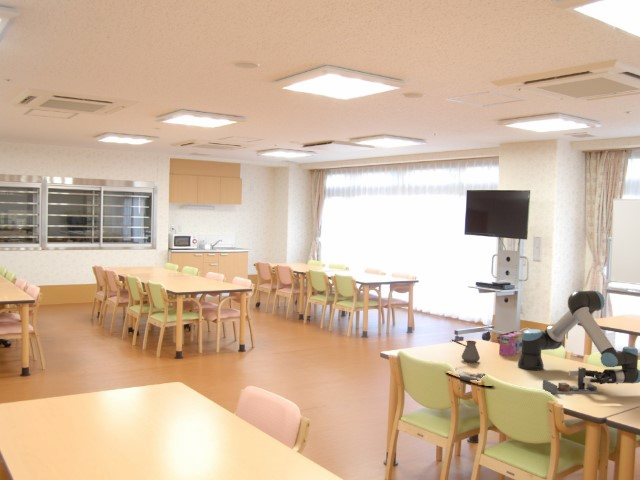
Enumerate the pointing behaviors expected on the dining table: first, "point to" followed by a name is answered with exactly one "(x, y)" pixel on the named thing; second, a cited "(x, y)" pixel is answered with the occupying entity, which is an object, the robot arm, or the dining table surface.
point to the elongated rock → (469, 376)
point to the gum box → (510, 343)
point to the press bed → (590, 387)
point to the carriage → (580, 381)
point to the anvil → (550, 387)
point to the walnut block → (563, 387)
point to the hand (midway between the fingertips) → (576, 376)
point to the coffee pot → (469, 352)
